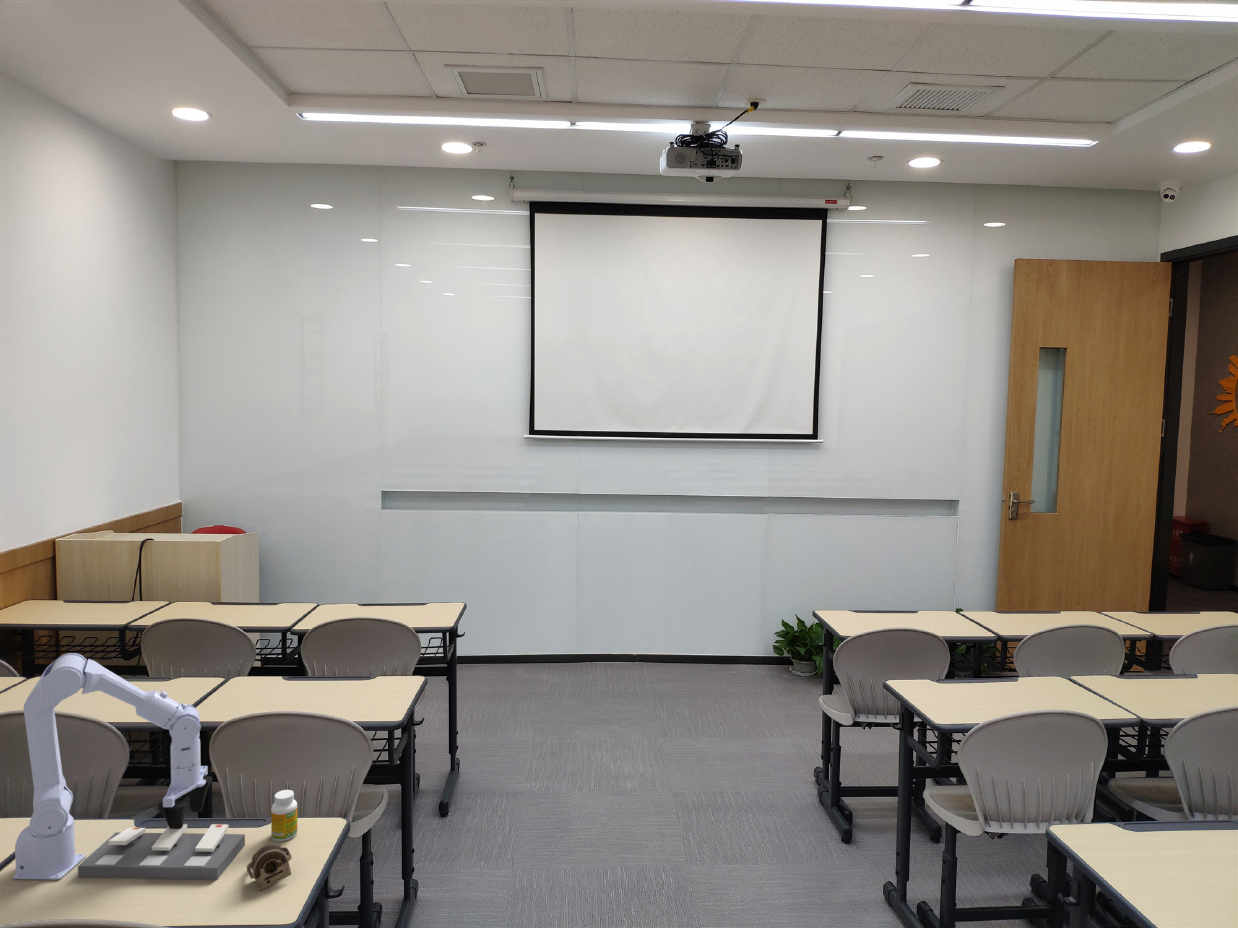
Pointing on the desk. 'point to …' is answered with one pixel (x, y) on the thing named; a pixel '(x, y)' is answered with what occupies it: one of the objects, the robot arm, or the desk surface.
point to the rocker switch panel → (161, 858)
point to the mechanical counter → (269, 865)
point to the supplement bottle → (284, 816)
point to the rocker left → (126, 836)
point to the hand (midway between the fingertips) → (186, 820)
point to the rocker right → (212, 838)
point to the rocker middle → (168, 838)
